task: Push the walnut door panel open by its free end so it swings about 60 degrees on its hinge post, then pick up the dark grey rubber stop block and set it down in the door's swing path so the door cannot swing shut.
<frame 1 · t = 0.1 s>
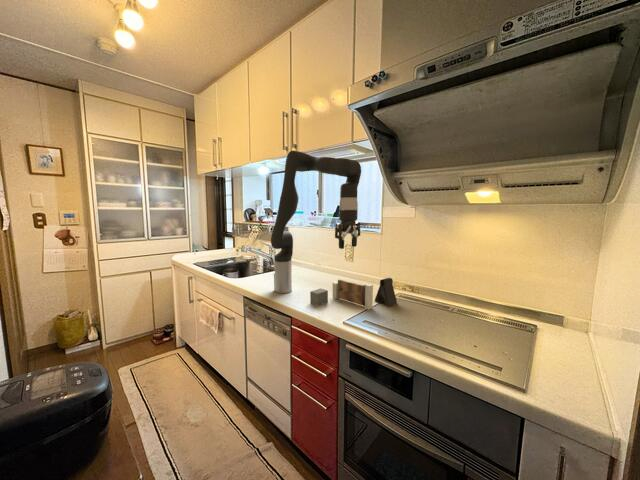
hand: (347, 247, 109), 29 cm above the worktop, fingers open, 8 cm apart
door: (351, 292, 124), point 6 cm above the worktop, hinge at 0.0°
stop block: (319, 302, 125), on the worktop
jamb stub: (335, 297, 132), on the worktop
door stopper: (385, 303, 126), on the worktop
hinge post: (368, 308, 118), on the worktop
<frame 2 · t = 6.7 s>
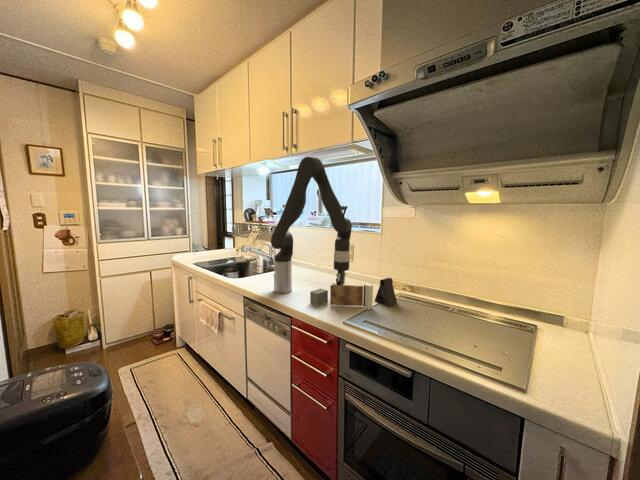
hand: (340, 294, 126), 4 cm above the worktop, fingers closed
door: (348, 295, 120), point 6 cm above the worktop, hinge at 38.2°, touching hand
everything else where it was.
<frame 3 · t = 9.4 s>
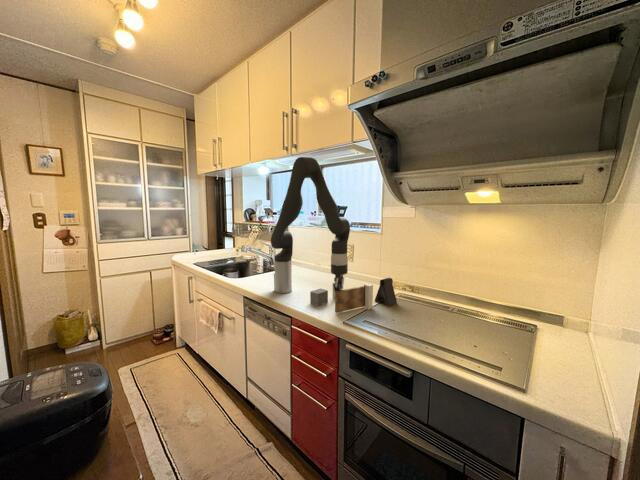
hand: (338, 299, 118), 4 cm above the worktop, fingers closed
door: (352, 298, 115), point 6 cm above the worktop, hinge at 73.8°, touching hand
everything else where it was.
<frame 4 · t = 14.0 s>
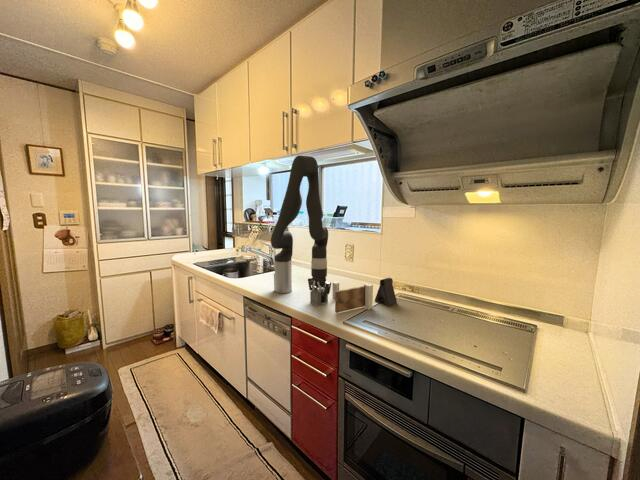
hand: (319, 300, 125), 1 cm above the worktop, fingers closed on stop block, 5 cm apart
door: (352, 298, 115), point 6 cm above the worktop, hinge at 73.9°
stop block: (319, 302, 125), on the worktop, touching gripper
everything else where it was.
when the fingers open (2 cm above the worktop, at t = 19.2 s): stop block drops 1 cm, on the worktop.
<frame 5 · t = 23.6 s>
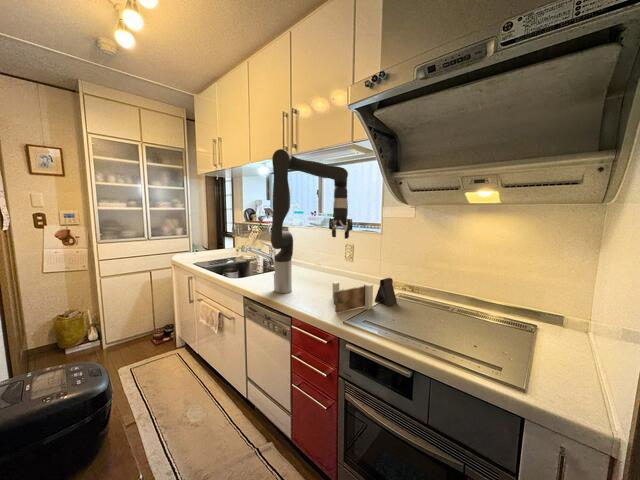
hand: (340, 237, 137), 30 cm above the worktop, fingers open, 8 cm apart
stop block: (342, 303, 124), on the worktop
everything else where it was.
at the end: door at +74° (first picture: +0°); stop block inside the target area (0.1 cm from its centre), on the worktop; stop block tilted 0° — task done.
